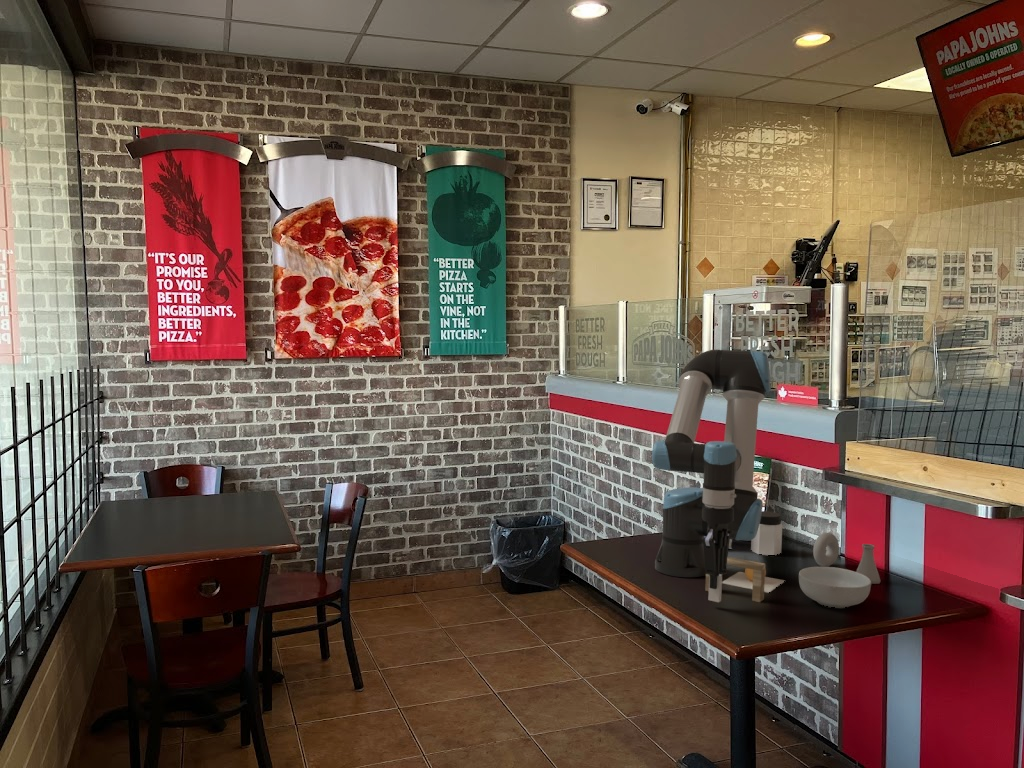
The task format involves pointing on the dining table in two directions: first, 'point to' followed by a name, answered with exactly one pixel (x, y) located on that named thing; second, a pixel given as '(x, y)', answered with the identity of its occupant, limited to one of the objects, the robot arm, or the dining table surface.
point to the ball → (750, 573)
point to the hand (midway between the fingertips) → (714, 600)
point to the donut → (820, 548)
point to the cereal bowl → (834, 586)
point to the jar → (768, 535)
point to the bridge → (757, 575)
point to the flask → (868, 564)
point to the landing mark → (743, 581)
